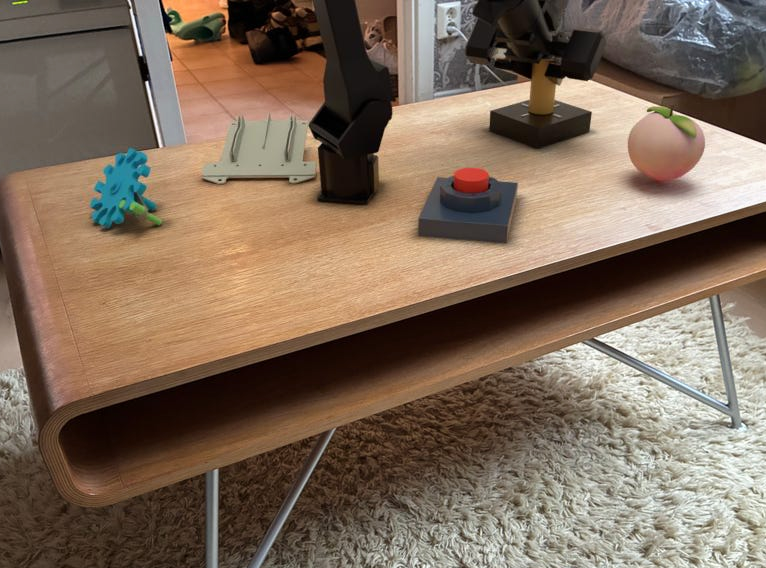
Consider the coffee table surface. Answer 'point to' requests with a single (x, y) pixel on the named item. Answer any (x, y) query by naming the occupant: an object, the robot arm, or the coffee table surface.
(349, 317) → the coffee table surface
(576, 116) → the dark brown square base
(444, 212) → the block
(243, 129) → the metal bracket
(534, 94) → the yellow cylinder
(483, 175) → the release button
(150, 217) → the gear
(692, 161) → the decorative fruit
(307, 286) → the coffee table surface
